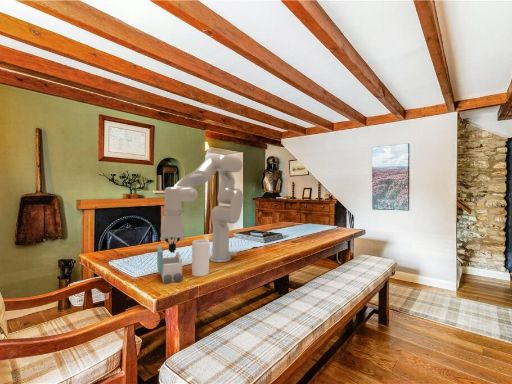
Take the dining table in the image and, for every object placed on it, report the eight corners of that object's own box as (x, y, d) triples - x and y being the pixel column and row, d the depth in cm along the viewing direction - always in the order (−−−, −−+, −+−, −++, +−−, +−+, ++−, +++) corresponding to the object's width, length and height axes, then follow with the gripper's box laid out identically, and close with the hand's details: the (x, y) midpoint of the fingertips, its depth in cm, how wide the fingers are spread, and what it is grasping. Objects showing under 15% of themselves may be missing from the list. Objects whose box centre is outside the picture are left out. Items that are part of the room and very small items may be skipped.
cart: (177, 271, 128) (177, 251, 128) (182, 281, 115) (182, 259, 115) (160, 273, 125) (161, 253, 125) (163, 284, 112) (163, 261, 112)
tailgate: (160, 266, 123) (160, 246, 123) (162, 273, 113) (162, 251, 113) (157, 266, 122) (157, 246, 122) (159, 274, 113) (159, 251, 112)
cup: (193, 270, 130) (193, 239, 130) (209, 270, 131) (210, 239, 130) (190, 276, 122) (191, 243, 121) (208, 276, 123) (208, 243, 122)
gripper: (187, 212, 126) (186, 248, 126) (155, 212, 120) (154, 251, 120) (190, 213, 119) (189, 252, 120) (156, 214, 113) (155, 255, 113)
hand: (172, 252), depth 120 cm, fingers closed
